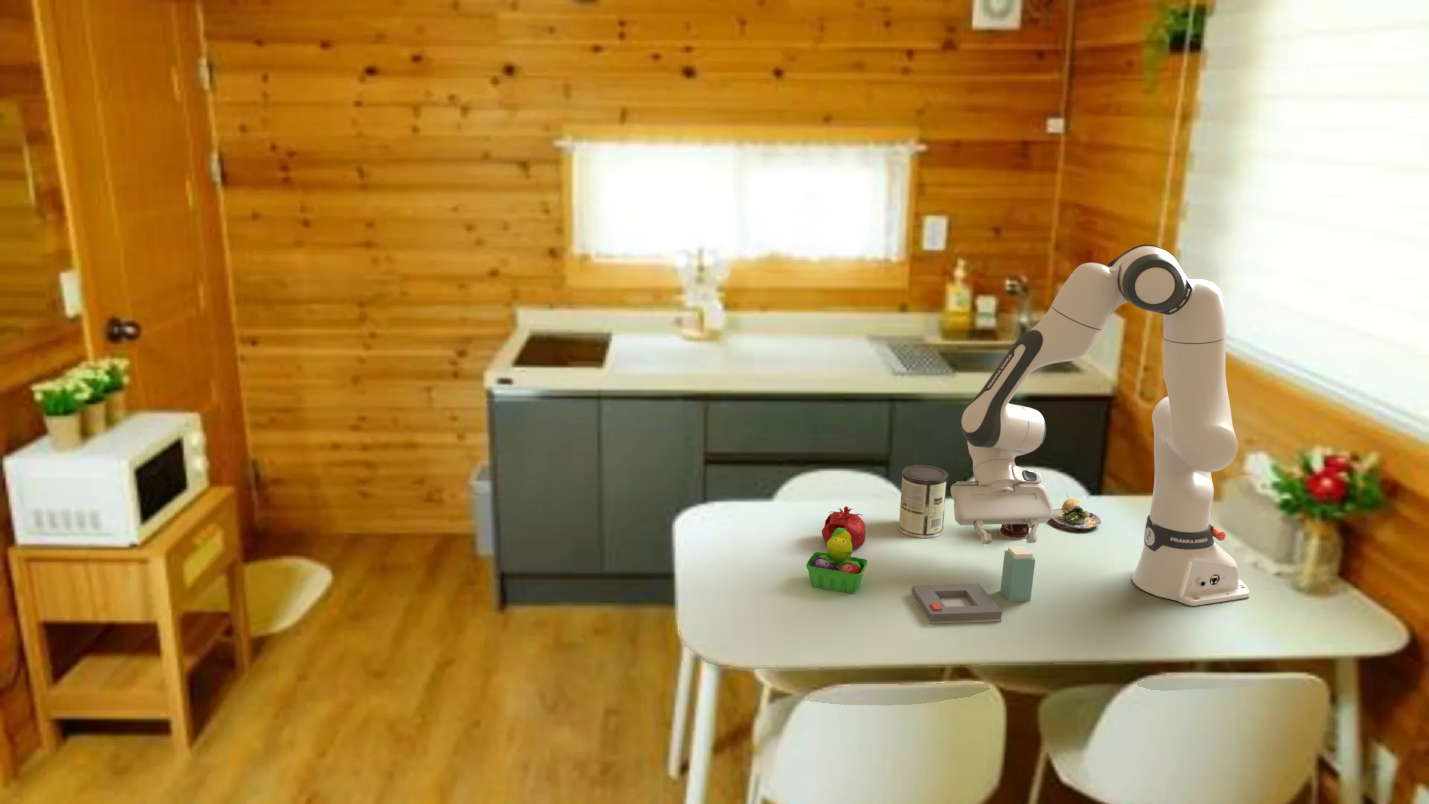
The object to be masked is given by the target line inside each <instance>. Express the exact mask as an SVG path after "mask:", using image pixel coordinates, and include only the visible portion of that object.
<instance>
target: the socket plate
mask: <svg viewBox="0 0 1429 804" xmlns="http://www.w3.org/2000/svg"><path fill="white" fill-rule="evenodd" d="M911 596H912V598H913V599H914V601H915V603H916V604H917V606H918V607H919V609H920V610H921V612H922V614H923V615H924V617H925V618H926V619H927V622H928V623H929V624H930V625H935V624H936V625H937V624H957V623H958V624H959V623H961V624H962V623H964V624H965V623H982V622H983V623H986V622H987V623H988V622H1002V614H1003V611H1002V610H1001V608H1000V607H999V606H998V605H997V604H996V602H995V601H994V600H993V599H992V597H991V596H990V595H989V594H988V592H987V591H986V589H984V587H983V586H982V585H981V583H979V582H978V583H955V584H954V583H953V584H949V583H948V584H930V585H929V584H928V585H927V584H925V585H912V586H911Z"/></svg>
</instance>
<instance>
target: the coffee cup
mask: <svg viewBox="0 0 1429 804" xmlns="http://www.w3.org/2000/svg"><path fill="white" fill-rule="evenodd" d="M998 531H999V532H998V533H999V535H1001V536H1003V537H1005V538H1007V539H1010V540H1022V539H1026V537H1025V536H1026V535H1027V534H1028V533H1030V528H1028V524H1001V526H1000V528H999V530H998Z"/></svg>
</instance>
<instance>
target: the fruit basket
mask: <svg viewBox="0 0 1429 804" xmlns="http://www.w3.org/2000/svg"><path fill="white" fill-rule="evenodd" d="M826 549H827V552H822V551H816V552H815V551H814V552H813V554H812V555H811V557H810V558H809V559H808V560H807V562H806V564H805V566H806V569H807V571H808V575H809V579H810V583H811V587H812V588H813V587H814V588H818V589H824V590H831V591H835V592H839V593H840V592H841V593H848V594H853V595H854V594H856V592H857V590H858V588H859V586H860V584H861V581H862V578H863V576H864V572H865V569H866V567H867V566H868V560H867V559H866V558H860V557H855V556H852V554H853V550H852V543H851V535H850V534H849V533H848V532H847V531H846V528H837V529H836V530H835V531H834V533H833V534H832V537H831V538H830V539H829V540H828V542H827V543H826Z"/></svg>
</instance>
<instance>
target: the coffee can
mask: <svg viewBox="0 0 1429 804" xmlns="http://www.w3.org/2000/svg"><path fill="white" fill-rule="evenodd" d="M901 476H902V478H901V488H900V489H901V490H900V492H901V493H900V503H899V504H900V505H899V518H898V519H899V523H898V530H899V531H900V532H901V533H902V534H904V535H907V536H909V537H912V538H919V539H932V538H937V537H939V536H941V535H942V534H943V532H944V521H945V507H946V496H947V485H948V478H949V473H948V472H947V471H946V470H945V469H942V468H940V467H937V466H933V465H927V464H915V465H914V464H913V465H909V466H906V467H904V468H903V469H902V470H901Z"/></svg>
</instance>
